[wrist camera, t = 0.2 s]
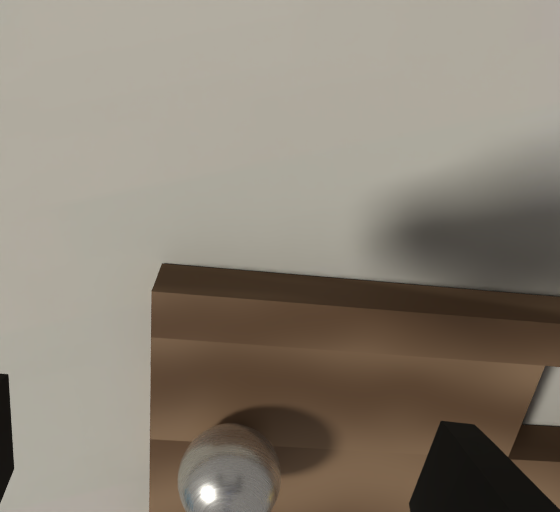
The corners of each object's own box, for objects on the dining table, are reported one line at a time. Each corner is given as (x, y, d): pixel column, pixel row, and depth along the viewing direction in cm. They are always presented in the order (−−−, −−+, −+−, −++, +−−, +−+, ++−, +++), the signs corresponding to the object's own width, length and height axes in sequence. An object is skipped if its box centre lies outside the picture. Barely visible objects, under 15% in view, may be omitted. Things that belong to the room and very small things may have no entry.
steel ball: (273, 475, 20) (276, 561, 17) (182, 470, 20) (168, 557, 17) (284, 404, 19) (289, 485, 16) (186, 398, 18) (171, 479, 15)
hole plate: (608, 601, 28) (633, 642, 26) (155, 586, 26) (148, 629, 24) (784, 315, 20) (835, 345, 19) (162, 263, 18) (151, 291, 17)
